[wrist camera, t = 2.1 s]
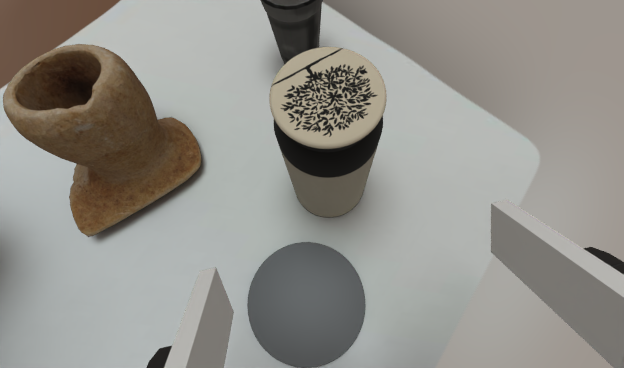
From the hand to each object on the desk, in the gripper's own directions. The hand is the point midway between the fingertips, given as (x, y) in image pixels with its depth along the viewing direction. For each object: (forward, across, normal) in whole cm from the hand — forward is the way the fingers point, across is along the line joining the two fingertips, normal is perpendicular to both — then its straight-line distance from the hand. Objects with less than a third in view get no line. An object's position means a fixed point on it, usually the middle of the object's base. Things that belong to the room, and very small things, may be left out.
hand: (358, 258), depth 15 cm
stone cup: (+27, -21, 0) cm, 34 cm away
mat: (+14, -5, -14) cm, 20 cm away
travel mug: (+22, +1, -5) cm, 23 cm away
